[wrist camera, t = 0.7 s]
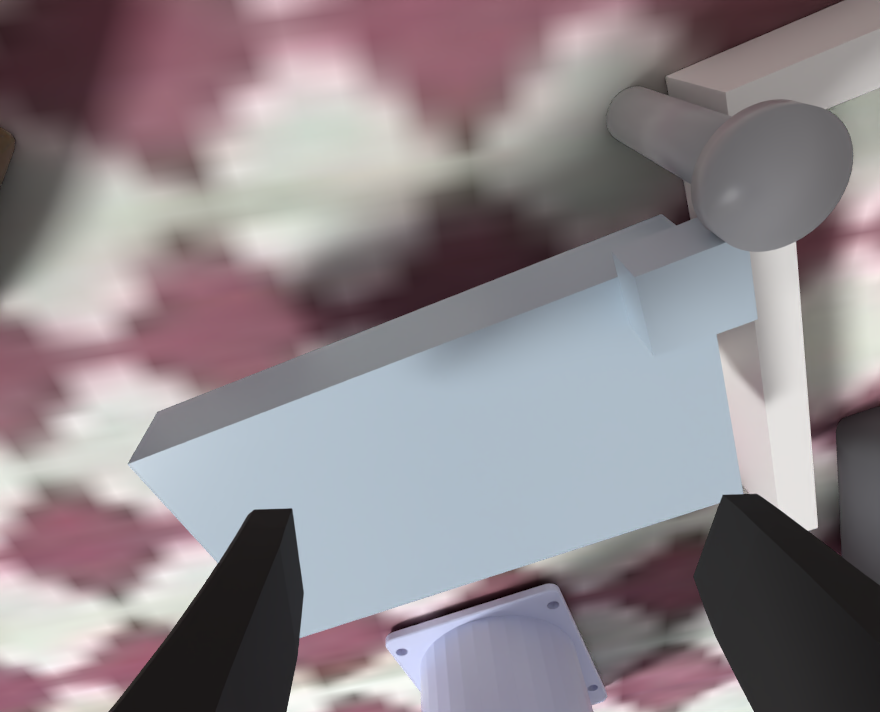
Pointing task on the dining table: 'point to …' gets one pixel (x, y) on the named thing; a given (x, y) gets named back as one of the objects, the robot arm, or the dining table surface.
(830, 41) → the duct
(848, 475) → the dark grey cylinder
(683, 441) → the cover
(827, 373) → the dining table surface
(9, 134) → the brown box-shaped piece
